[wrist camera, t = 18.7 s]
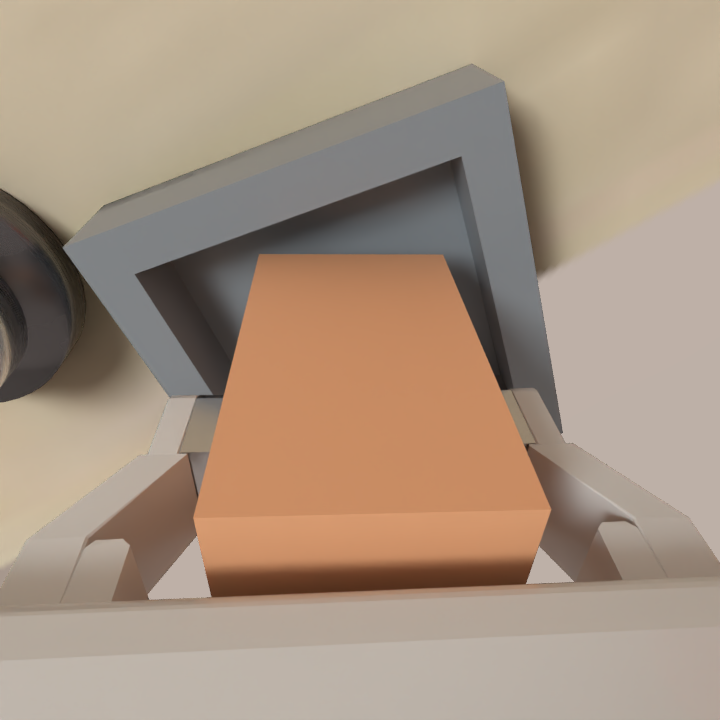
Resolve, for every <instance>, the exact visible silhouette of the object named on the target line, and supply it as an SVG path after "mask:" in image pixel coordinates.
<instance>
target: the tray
mask: <svg viewBox="0 0 720 720" xmlns="http://www.w3.org/2000/svg"><path fill="white" fill-rule="evenodd" d="M62 248H63V249H64V250H65V252H66V253H67V255H68V256H69V257H70V259H71V260H72V262H73V263H74V264H75V266H76V267H77V269H78V270H79V271H80V273H81V274H82V276H83V277H84V278H85V280H86V281H87V283H88V284H89V285H90V287H91V288H92V290H93V291H94V292H95V294H96V295H97V297H98V298H99V299H100V301H101V302H102V304H103V305H104V306H105V308H106V309H107V311H108V312H109V313H110V315H111V316H112V318H113V319H114V320H115V322H116V323H117V325H118V326H119V327H120V329H121V330H122V332H123V333H124V334H125V336H126V337H127V339H128V340H129V341H130V343H131V344H132V346H133V347H134V348H135V350H136V351H137V353H138V354H139V355H140V357H141V358H142V360H143V361H144V362H145V364H146V365H147V367H148V368H149V369H150V371H151V372H152V374H153V375H154V376H155V378H156V379H157V380H158V382H159V383H160V385H161V386H162V387H163V389H164V390H165V392H166V393H167V394H168V396H169V397H172V396H173V395H198V396H199V395H224V393H225V389H226V385H227V381H228V377H229V373H230V369H231V365H232V361H233V357H234V353H235V349H236V345H237V341H238V337H239V333H240V329H241V325H242V321H243V317H244V313H245V309H246V305H247V301H248V297H249V292H250V288H251V284H252V280H253V276H254V272H255V268H256V264H257V260H258V256H259V254H437V255H443V256H444V258H445V260H446V263H447V265H448V268H449V270H450V272H451V275H452V277H453V279H454V282H455V284H456V286H457V289H458V291H459V293H460V296H461V298H462V300H463V303H464V305H465V307H466V310H467V312H468V315H469V317H470V319H471V322H472V324H473V326H474V329H475V331H476V333H477V336H478V338H479V340H480V343H481V345H482V347H483V350H484V352H485V355H486V357H487V359H488V362H489V364H490V366H491V369H492V371H493V373H494V376H495V378H496V380H497V383H498V385H499V387H500V390H508V389H516V388H534V389H536V390H537V391H538V393H539V395H540V397H541V399H542V400H543V402H544V404H545V406H546V408H547V410H548V412H549V413H550V415H551V417H552V419H553V421H554V423H555V425H556V426H557V428H558V430H559V432H560V434H561V433H563V431H562V425H561V419H560V413H559V407H558V401H557V395H556V389H555V383H554V377H553V371H552V365H551V359H550V353H549V347H548V342H547V335H546V329H545V323H544V317H543V311H542V306H541V299H540V294H539V288H538V281H537V275H536V269H535V263H534V257H533V251H532V245H531V239H530V233H529V227H528V221H527V215H526V209H525V203H524V197H523V191H522V185H521V179H520V173H519V167H518V161H517V155H516V149H515V143H514V137H513V131H512V125H511V119H510V113H509V107H508V101H507V95H506V89H505V83H504V81H503V80H501V79H499V78H497V77H496V76H494V75H492V74H490V73H488V72H486V71H484V70H483V69H481V68H479V67H477V66H475V65H473V64H470V65H468V66H465V67H463V68H460V69H457V70H455V71H452V72H450V73H447V74H444V75H442V76H439V77H437V78H434V79H431V80H429V81H426V82H424V83H421V84H418V85H416V86H413V87H411V88H408V89H405V90H403V91H400V92H398V93H395V94H392V95H390V96H387V97H385V98H382V99H379V100H377V101H374V102H372V103H369V104H366V105H364V106H361V107H359V108H356V109H353V110H351V111H348V112H346V113H343V114H340V115H338V116H335V117H333V118H330V119H327V120H325V121H322V122H320V123H317V124H314V125H312V126H309V127H307V128H304V129H301V130H299V131H296V132H294V133H291V134H288V135H286V136H283V137H281V138H278V139H275V140H273V141H270V142H268V143H265V144H262V145H260V146H257V147H255V148H252V149H249V150H247V151H244V152H242V153H239V154H236V155H234V156H231V157H229V158H226V159H223V160H221V161H218V162H216V163H213V164H210V165H208V166H205V167H203V168H200V169H197V170H195V171H192V172H190V173H187V174H184V175H182V176H179V177H177V178H174V179H171V180H169V181H166V182H164V183H161V184H158V185H156V186H153V187H151V188H148V189H145V190H143V191H140V192H138V193H135V194H132V195H130V196H127V197H125V198H122V199H119V200H117V201H114V202H112V203H109V204H106V205H104V206H103V207H102V208H101V209H100V210H99V211H98V212H97V213H96V214H95V215H94V216H93V217H92V218H91V219H90V220H89V221H88V222H87V223H86V224H85V225H84V226H83V227H82V228H81V229H80V230H79V231H78V232H77V233H76V234H75V235H74V236H73V237H72V238H71V239H70V240H69V241H68V242H67V243H66V244H65V245H64V246H63V247H62Z"/></svg>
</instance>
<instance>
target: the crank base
mask: <svg viewBox="0 0 720 720" xmlns="http://www.w3.org/2000/svg"><path fill="white" fill-rule="evenodd" d="M62 247H63V245H62V244H61V242H60V241H59V240H58V238H57V237H56V236H55V235H54V233H53V232H52V231H51V230H50V229H49V228H48V227H47V226H46V225H45V224H44V223H43V222H42V221H41V220H40V219H39V218H38V217H37V216H36V215H35V214H34V213H32V212H31V211H30V210H29V209H28V208H27V207H25V206H24V205H23V204H21V203H20V202H19V201H17V200H16V199H14V198H13V197H11V196H10V195H8V194H7V193H5V192H4V191H2V190H0V277H1V278H2V279H3V280H4V281H5V283H6V284H7V285H8V286H9V287H10V289H11V290H12V292H13V293H14V295H15V296H16V298H17V300H18V302H19V304H20V306H21V308H22V310H23V313H24V316H25V319H26V324H27V329H28V341H27V347H26V351H25V353H24V356H23V358H22V360H21V361H20V363H19V364H18V366H17V367H16V368H15V370H14V371H13V372H12V373H11V375H10V376H9V377H8V378H7V380H6V381H5V382H4V383H3V385H2V386H1V387H0V402H6V401H10V400H14V399H17V398H20V397H23V396H25V395H27V394H30V393H32V392H33V391H35V390H37V389H38V388H40V387H41V386H43V385H44V384H45V383H46V382H47V381H48V380H50V379H51V377H52V376H53V375H54V374H55V373H56V371H57V370H58V369H59V367H60V366H61V364H62V363H63V361H64V360H65V358H66V357H67V355H68V354H69V353H70V351H71V350H72V348H73V347H74V345H75V343H76V342H77V340H78V338H79V336H80V334H81V331H82V328H83V325H84V319H85V297H84V291H83V286H82V283H81V280H80V277H79V274H78V272H77V269H76V267H75V265H74V263H73V262H72V260H71V259H70V257H69V256H68V255H67V253H66V252H65V250H64V249H63V248H62Z"/></svg>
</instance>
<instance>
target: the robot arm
mask: <svg viewBox="0 0 720 720" xmlns="http://www.w3.org/2000/svg"><path fill="white" fill-rule="evenodd" d="M501 392H502V395H503V397H504V399H505V402H506V404H507V406H508V409H509V411H510V413H511V416H512V418H513V420H514V423H515V425H516V427H517V430H518V432H519V434H520V437H521V439H522V442H523V444H524V446H525V449H526V451H527V453H528V456H529V458H530V460H531V463H532V465H533V467H534V470H535V472H536V474H537V477H538V479H539V482H540V484H541V486H542V489H543V491H544V493H545V496H546V498H547V500H548V503H549V505H550V507H551V512H550V515H549V518H548V521H547V524H546V527H545V530H544V532H543V535H542V538H541V541H540V544H539V546H540V547H541V548H542V549H543V550H544V551H545V552H546V553H547V554H548V555H549V556H550V557H551V558H552V559H553V560H554V561H555V562H556V563H557V564H558V565H559V566H560V567H561V568H562V569H563V570H564V571H565V572H566V573H567V574H568V575H569V576H570V577H571V579H572V580H573V581H574V582H567V583H543V584H519V585H495V586H471V587H447V588H423V589H399V590H375V591H351V592H327V593H303V594H279V595H255V596H231V597H207V598H183V599H161V600H149V598H148V595H147V594H148V593H149V592H150V591H151V589H152V588H153V587H154V586H155V584H157V582H158V581H159V580H160V579H161V578H162V576H163V575H164V574H165V573H166V572H167V571H168V569H169V568H170V567H171V566H172V565H173V563H174V562H175V561H176V560H177V559H178V557H179V556H180V555H181V554H182V553H183V552H184V550H185V549H186V548H187V547H188V546H189V544H190V543H191V542H192V541H193V539H194V538H195V537H196V536H197V532H196V528H195V524H194V519H193V517H194V513H195V509H196V505H197V501H198V497H199V493H200V489H201V485H202V481H203V477H204V473H205V469H206V465H207V461H208V457H209V453H210V449H211V445H212V441H213V437H214V433H215V429H216V425H217V421H218V417H219V413H220V409H221V405H222V401H223V397H224V395H199V396H198V395H173V396H172V397H170V398H169V399H168V401H167V404H166V406H165V409H164V412H163V414H162V417H161V420H160V422H159V425H158V428H157V430H156V433H155V436H154V438H153V441H152V444H151V446H150V449H149V452H148V454H147V455H139V456H137V457H136V458H135V459H133V460H132V461H131V462H129V463H128V464H127V465H125V466H124V467H123V468H121V469H120V470H119V471H117V472H116V473H115V474H113V475H112V476H111V477H109V478H108V479H107V480H105V481H104V482H103V483H101V484H100V485H99V486H97V487H96V488H95V489H93V490H92V491H91V492H89V493H88V494H87V495H85V496H84V497H83V498H81V499H80V500H79V501H77V502H76V503H75V504H73V505H72V506H71V507H70V508H68V509H67V510H66V511H64V512H63V513H62V514H60V515H59V516H58V517H56V518H55V519H54V520H52V521H51V522H50V523H48V524H47V525H46V526H44V527H43V528H42V529H40V530H39V531H38V532H36V533H35V534H34V535H32V536H31V537H30V538H28V539H27V540H26V541H25V543H24V545H23V547H22V549H21V551H20V553H19V554H18V556H17V558H16V560H15V562H14V564H13V566H12V567H11V569H10V571H9V573H8V575H7V577H6V579H5V581H4V583H3V584H2V586H1V588H0V720H720V563H719V561H718V560H717V558H716V557H715V555H714V554H713V552H712V551H711V549H710V548H709V546H708V545H707V544H706V542H705V541H704V539H703V538H702V536H701V535H700V533H699V532H698V530H697V529H696V527H695V526H694V525H693V523H692V522H691V520H690V519H689V518H688V517H687V516H685V515H684V514H682V513H681V512H679V511H678V510H676V509H675V508H673V507H671V506H670V505H668V504H667V503H665V502H664V501H662V500H661V499H659V498H657V497H656V496H654V495H653V494H651V493H649V492H648V491H647V490H645V489H643V488H642V487H640V486H639V485H637V484H636V483H634V482H633V481H631V480H629V479H628V478H626V477H625V476H623V475H622V474H620V473H619V472H617V471H615V470H614V469H612V468H611V467H609V466H608V465H606V464H605V463H603V462H601V461H600V460H598V459H597V458H595V457H594V456H592V455H590V454H589V453H587V452H586V451H584V450H583V449H581V448H579V447H578V446H576V445H575V444H573V443H568V444H567V443H565V442H564V440H563V438H562V436H561V434H560V432H559V430H558V428H557V426H556V425H555V423H554V421H553V419H552V417H551V415H550V413H549V412H548V410H547V408H546V406H545V404H544V402H543V400H542V399H541V397H540V395H539V393H538V391H537V390H536V389H534V388H516V389H508V390H501Z"/></svg>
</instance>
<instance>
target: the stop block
mask: <svg viewBox="0 0 720 720" xmlns="http://www.w3.org/2000/svg"><path fill="white" fill-rule="evenodd" d="M550 512H551V507H550V505H549V503H548V500H547V498H546V496H545V493H544V491H543V489H542V486H541V484H540V482H539V479H538V477H537V474H536V472H535V470H534V467H533V465H532V463H531V460H530V458H529V456H528V453H527V451H526V449H525V446H524V444H523V442H522V439H521V437H520V434H519V432H518V430H517V427H516V425H515V423H514V420H513V418H512V416H511V413H510V411H509V409H508V406H507V404H506V402H505V399H504V397H503V395H502V392H501V390H500V387H499V385H498V383H497V380H496V378H495V376H494V373H493V371H492V369H491V366H490V364H489V362H488V359H487V357H486V355H485V352H484V350H483V347H482V345H481V343H480V340H479V338H478V336H477V333H476V331H475V329H474V326H473V324H472V322H471V319H470V317H469V315H468V312H467V310H466V307H465V305H464V303H463V300H462V298H461V296H460V293H459V291H458V289H457V286H456V284H455V282H454V279H453V277H452V275H451V272H450V270H449V268H448V265H447V263H446V260H445V258H444V256H443V255H437V254H259V256H258V260H257V264H256V268H255V272H254V276H253V280H252V284H251V288H250V292H249V297H248V301H247V305H246V309H245V313H244V317H243V321H242V325H241V329H240V333H239V337H238V341H237V345H236V349H235V353H234V357H233V361H232V365H231V369H230V373H229V377H228V381H227V385H226V389H225V393H224V397H223V401H222V405H221V409H220V413H219V417H218V421H217V425H216V429H215V433H214V437H213V441H212V445H211V449H210V453H209V457H208V461H207V465H206V469H205V473H204V477H203V481H202V485H201V489H200V493H199V497H198V501H197V505H196V509H195V513H194V517H193V519H194V524H195V528H196V532H197V537H198V541H199V545H200V549H201V554H202V558H203V562H204V567H205V571H206V575H207V579H208V584H209V588H210V592H211V596H212V597H231V596H255V595H279V594H303V593H327V592H351V591H375V590H399V589H423V588H447V587H471V586H495V585H519V584H526V582H527V579H528V576H529V573H530V570H531V567H532V564H533V562H534V559H535V556H536V553H537V550H538V547H539V544H540V541H541V538H542V535H543V532H544V530H545V527H546V524H547V521H548V518H549V515H550Z"/></svg>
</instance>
